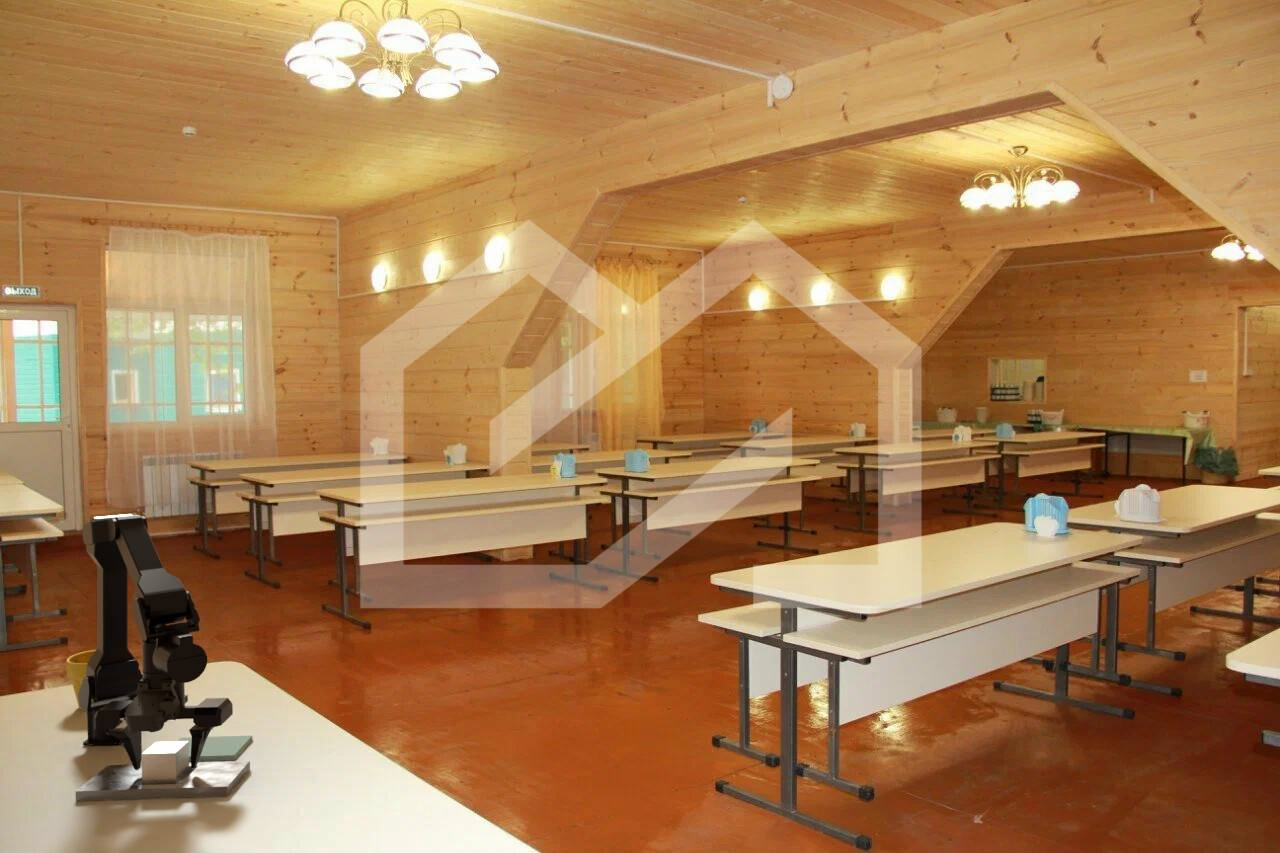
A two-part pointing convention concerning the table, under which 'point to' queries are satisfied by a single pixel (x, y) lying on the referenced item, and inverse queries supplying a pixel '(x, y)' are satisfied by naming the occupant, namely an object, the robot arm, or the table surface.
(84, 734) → the table surface
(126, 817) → the table surface
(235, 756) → the teal pad
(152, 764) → the pale wooden block
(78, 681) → the plant pot
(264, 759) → the table surface
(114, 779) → the grey flat plate
